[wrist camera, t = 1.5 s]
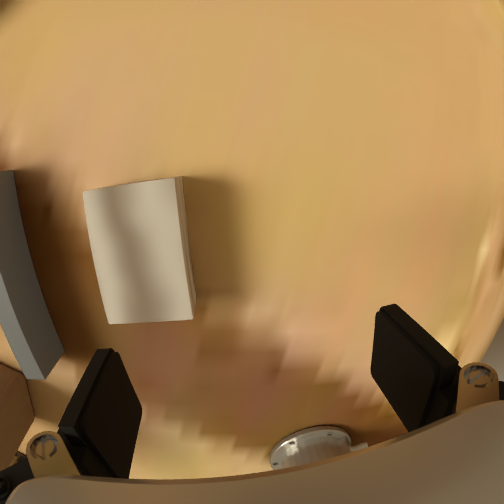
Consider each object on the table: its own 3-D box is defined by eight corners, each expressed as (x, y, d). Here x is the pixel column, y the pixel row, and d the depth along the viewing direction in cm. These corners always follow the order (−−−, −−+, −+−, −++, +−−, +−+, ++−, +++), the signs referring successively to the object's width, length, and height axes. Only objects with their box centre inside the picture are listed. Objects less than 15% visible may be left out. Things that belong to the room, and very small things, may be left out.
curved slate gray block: (13, 170, 25) (-21, 173, 19) (64, 351, 31) (45, 379, 25) (-4, 177, 25) (-37, 182, 19) (47, 352, 31) (26, 379, 25)
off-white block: (182, 176, 28) (174, 177, 23) (196, 296, 31) (192, 319, 26) (103, 187, 27) (82, 191, 22) (123, 301, 30) (108, 324, 26)
